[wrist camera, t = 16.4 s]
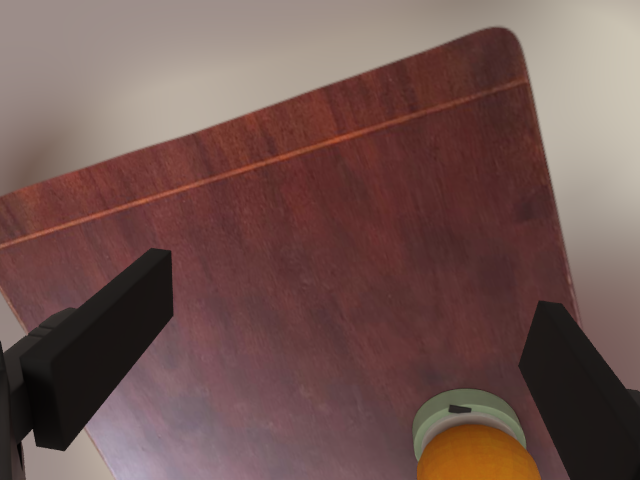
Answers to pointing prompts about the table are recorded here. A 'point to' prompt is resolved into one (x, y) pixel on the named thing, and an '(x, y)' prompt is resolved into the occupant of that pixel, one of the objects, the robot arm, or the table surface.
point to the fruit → (475, 456)
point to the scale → (463, 415)
